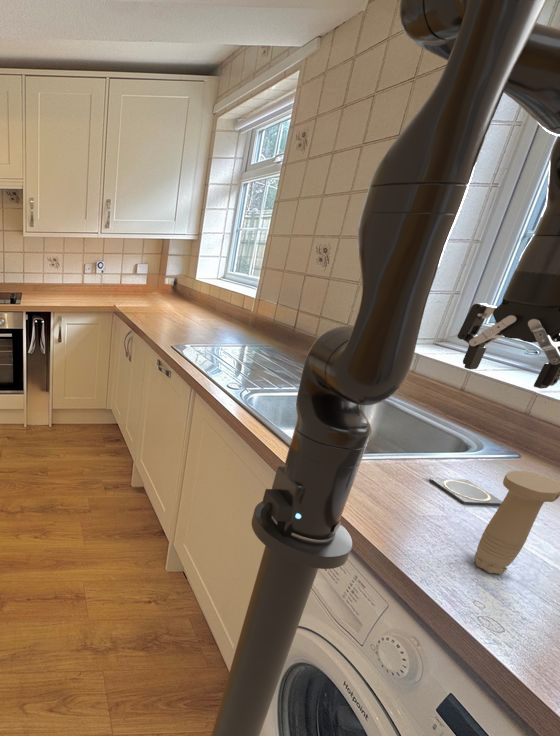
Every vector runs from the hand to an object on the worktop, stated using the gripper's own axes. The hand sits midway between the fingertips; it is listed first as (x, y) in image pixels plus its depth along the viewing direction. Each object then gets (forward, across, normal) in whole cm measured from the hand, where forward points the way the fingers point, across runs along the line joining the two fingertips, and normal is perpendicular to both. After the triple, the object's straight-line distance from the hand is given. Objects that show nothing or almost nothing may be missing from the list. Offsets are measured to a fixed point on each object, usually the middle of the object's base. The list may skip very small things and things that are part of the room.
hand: (503, 377), depth 64 cm
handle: (+26, +11, -9) cm, 29 cm away
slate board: (+25, -2, +11) cm, 28 cm away
